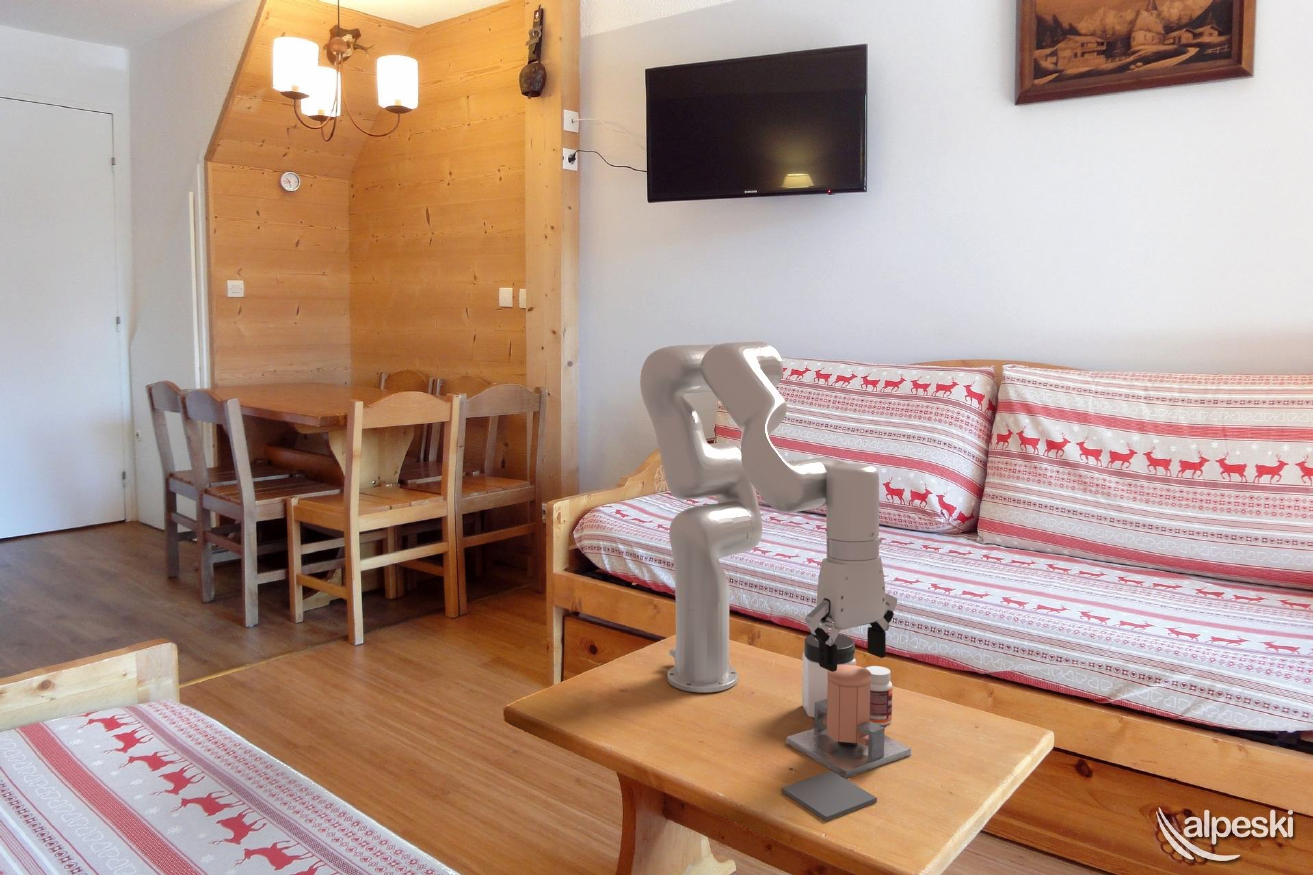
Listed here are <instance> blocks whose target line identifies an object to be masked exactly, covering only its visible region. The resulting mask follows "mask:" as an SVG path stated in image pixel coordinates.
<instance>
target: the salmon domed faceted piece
mask: <svg viewBox="0 0 1313 875" xmlns="http://www.w3.org/2000/svg"><path fill="white" fill-rule="evenodd" d="M827 679H828V689H827V717H826V718H823V723H824V724H825V725H827V735H828V736H829V737H831V738H833V739H835V740H837V741H839V742H849V743H861V744H863V745H865V746H868V735H867V734H865V733H863V732H861V731H859V725H860V724H863V723H867V722H870V683H871V672H870V671H869V670H867V669H866V667H863V666H860V665H859V666H858V665H856V666H855V665H837V670H836V671H834V672H832V671H829V670H828V671H827Z"/></svg>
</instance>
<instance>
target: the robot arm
mask: <svg viewBox="0 0 1313 875" xmlns="http://www.w3.org/2000/svg"><path fill="white" fill-rule="evenodd" d="M641 367H642V368H641V370H640V379H639V380H640V381H639V385H640V392H641V397H642V401H643V404H644V406H645V409H646V411H647V413H648V415H649V417H650V418H649V419H650V420H651V423H652V425H653V429H654V432H655V437H656V442H657V446H658V448H657V449H658V451H659V456H660V461H661V465H662V469H663V474H664V477H665V482H666V485H667V488H668V490H669V493H670V495H672V496H673V497H674V498H676V499H678V500H682V501H688V500H697V499H704V498H705V499H706V498H710V497H711V498H712V497H715V498H716V500H717V503H710V504H704V505H699V506H698V505H697V506H693V507H688V508H686V509H684V510H681V511H680V512H678V513H677V514H676V515H675V517H673V519H672V521H671V522H670V525H669V529H668V530H669V531H668V532H669V533H668V535H669V536H668V537H669V544H670V548H671V552H672V558H673V565H674V576H675V577H674V578H675V579H674V580H675V581H674V585H675V587H674V588H675V648H671V649H670V650H669V652H668V654H669V656H670V657H672V658H674V666H672V667H671V668H670V669H668V671H667V677H666V678H667V682H668V683H669V684H670V685H671V686H673V687H674V688H676V689H679V690H681V691H685V692H691V693H698V694H699V693H701V694H702V693H704V694H706V693H707V694H708V693H716V692H722V691H725V690H728V689H730V688H732V687H734V686H735V685H736V684H737V683H738V678H739V675H738V674H739V673H738V671H737V670H736V669H735V668H733V667H732V666H731V665H730V584H729V580H728V576H727V574H726V572H725V570H724V569H723V567H722V566H721V563H720V559H721V558H725V557H729V556H734V555H739V554H743V553H746V552H749V551H752V550H754V549H755V548H756V547H757V546H758V545H759V544H760V542H761V539H762V537H763V536H762V535H763V519H762V514H761V510H760V506H759V502H758V498H757V493H758V494H759V496H760V497H761V498H762V499H763V500H764V502H765V503H766V504H767V505H769V507H771V508H772V509H774V510H775V511H778V512H780V513H784V514H789V513H797V512H803V511H807V510H813V509H821V508H826V513H825V514H826V517H825V518H826V519H825V520H826V522H825V523H826V528H825V529H826V557H824V558H822V560H821V564H820V569H819V574H818V583H817V591H816V592H817V593H816V606H815V607H814V608H813V609H812V610H811V611H810V612H809V613H808V614H807V615H806V616H805V617H804V621H805V623H806V625H807V627H808V629H809V633H810V635H813V636H814V637H815V640H816V641H819V665H820V667H822V668H825V669H827V670H829V671H832V672H834V671H836V670H837V645H835V644H833V643H834V641H835V639H836V638H837V636H838V634H840V632H841V631H845V630H851V629H852V628H857V627H862V626H866V625H870V626H868V627H867V632H866V633H867V642H866V643H867V646H866V648H867V653H868V654H870V655H872V656H875V657H876V658H877V657H878V658H880V659H884V658H886V651H887V650H886V646H887V645H886V644H887V642H886V641H887V640H886V639H887V637H886V634H887V632H889V629H890V622H891V621H892V619H893V618H894V615H895V613H894V611H895V610H896V606H897V604H898V598H897V597H895V596H893V595H891V594H889V593H887V592H886V583H885V573H884V566H883V562H882V557H881V555H880V545H881V544H882V538H881V536H880V476H879V471H878V470H877V469H876V468H875V467H874V466H873V465H868V464H865V463H864V464H863V463H849V462H845V461H843V460H840V459H837V458H833V457H829V456H828V457H815V458H807V459H801V460H800V459H798V460H791V461H786V460H785V459H784V458H783V457H782V456H781V455H780V453H779V452H778V451H777V449H776V448H775V447H774V445H773V444H772V441H771V440H770V438H769V435H770V434H771V433H773V432H774V431H775V430H776V429H777V428H778V427H779V426H780V424H781V423H782V422H783V421H784V419H785V417H786V415H787V413H788V412H787V411H788V406H787V402H786V400H785V398H784V397H783V396H782V394H780V392H779V391H778V389H776V386H778V385H779V383H781V380H782V379H783V373H784V364H783V360H782V358H781V355H780V354H779V352H778V351H777V350H776V349H775V348H774V347H773V346H771V345H770V344H768V343H766V342H763V341H744V342H742V341H741V342H740V341H739V342H726V343H725V342H724V343H718V344H717V343H716V344H715V343H714V344H685V345H670V346H665V347H662V348H658V349H656V350H654V351H653V352H651V353H650V354H649V355H648V356H646V358H645V360H644V361H643V365H642V366H641ZM709 392H710V393H713V394H714V396H715V397H716V398H717V400H718V401H719V403H720V404H721V405H722V406H723V409H725V410H726V412H727V413H728V415H729V416H730V417H731V419H732V420H733V421H734V423H735V424H736V425H737V426H738V428H739V430H740V431H741V435H740V441H739V442H740V443H739V447H737V446H736V445H734V444H732V443H729V442H716V443H715V442H714V443H708V441H707V439H706V437H705V433H704V428H703V423H702V421H701V418H700V416H699V414H698V413H697V411H696V409H695V408H694V406H692V404H691V403H690V402H689V401H687V400H686V398H685V397H684V396H685V394H698V393H709ZM756 491H757V493H756ZM829 629H830V631H829ZM828 631H829V632H828ZM827 633H829V634H827Z"/></svg>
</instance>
